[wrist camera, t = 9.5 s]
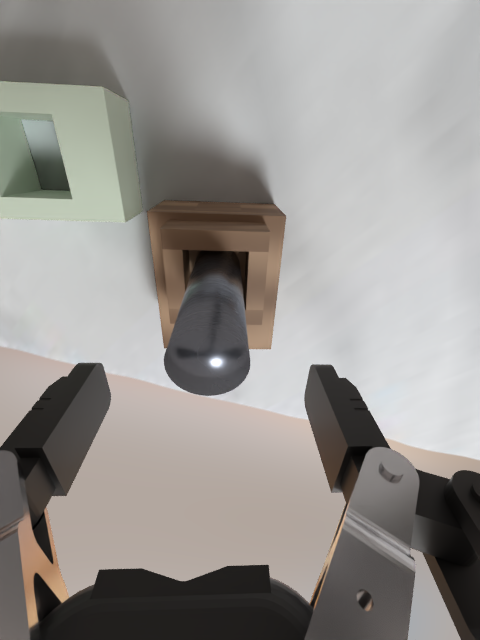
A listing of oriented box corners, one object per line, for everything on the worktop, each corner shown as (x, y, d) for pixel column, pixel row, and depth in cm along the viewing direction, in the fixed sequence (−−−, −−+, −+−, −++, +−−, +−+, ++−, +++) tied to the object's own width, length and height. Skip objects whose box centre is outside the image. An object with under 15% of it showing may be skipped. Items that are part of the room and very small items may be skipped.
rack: (-36, 92, 21) (-105, 75, 16) (128, 100, 21) (102, 86, 17) (6, 206, 25) (-41, 217, 20) (143, 211, 25) (125, 222, 21)
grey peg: (193, 243, 21) (159, 327, 11) (241, 245, 21) (252, 328, 11) (195, 287, 23) (168, 395, 12) (239, 288, 23) (247, 395, 13)
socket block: (164, 200, 25) (134, 219, 17) (274, 204, 25) (294, 224, 18) (174, 316, 31) (156, 369, 23) (264, 317, 31) (275, 370, 24)
